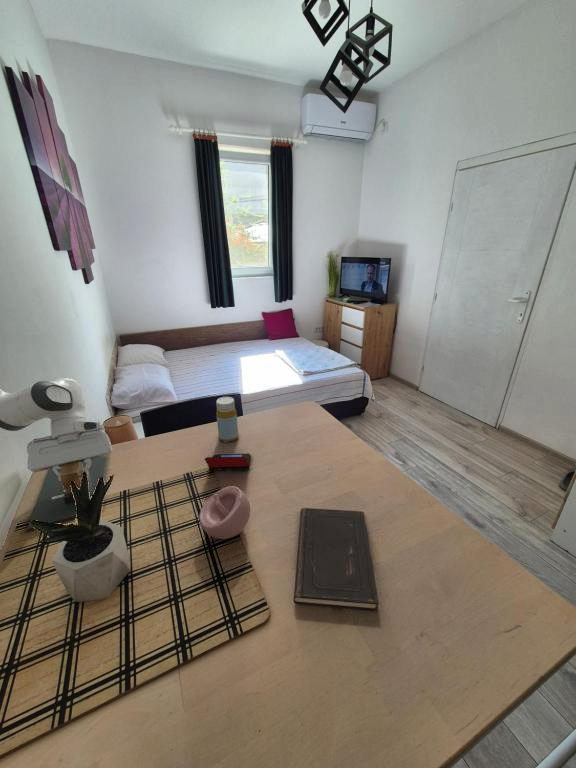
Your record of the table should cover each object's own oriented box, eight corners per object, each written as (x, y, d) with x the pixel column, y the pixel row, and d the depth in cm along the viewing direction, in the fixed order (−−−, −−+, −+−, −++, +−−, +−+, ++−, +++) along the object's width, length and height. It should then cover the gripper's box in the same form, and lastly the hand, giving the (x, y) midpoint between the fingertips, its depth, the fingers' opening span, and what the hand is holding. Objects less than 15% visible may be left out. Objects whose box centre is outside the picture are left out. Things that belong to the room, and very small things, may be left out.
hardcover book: (363, 518, 83) (363, 511, 82) (377, 611, 62) (378, 603, 61) (300, 514, 84) (300, 507, 83) (293, 604, 63) (293, 596, 62)
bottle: (224, 431, 122) (221, 395, 117) (241, 433, 120) (238, 397, 114) (215, 440, 116) (211, 403, 110) (233, 444, 114) (229, 406, 108)
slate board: (27, 531, 80) (26, 529, 80) (50, 470, 102) (49, 468, 101) (100, 511, 86) (100, 508, 86) (107, 457, 108) (106, 455, 107)
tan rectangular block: (65, 503, 87) (56, 480, 84) (71, 481, 96) (63, 458, 93) (86, 498, 89) (78, 474, 86) (90, 476, 98) (83, 454, 94)
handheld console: (251, 456, 108) (250, 436, 105) (248, 477, 98) (246, 457, 95) (213, 456, 108) (211, 437, 105) (206, 478, 98) (203, 457, 95)
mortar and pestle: (201, 516, 84) (196, 481, 79) (247, 507, 86) (245, 472, 82) (202, 556, 73) (196, 517, 69) (254, 544, 76) (252, 506, 71)
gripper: (21, 437, 88) (24, 488, 84) (106, 421, 96) (112, 467, 91) (31, 443, 94) (33, 491, 89) (110, 427, 101) (116, 471, 97)
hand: (74, 479), depth 90 cm, fingers closed on tan rectangular block, 4 cm apart
